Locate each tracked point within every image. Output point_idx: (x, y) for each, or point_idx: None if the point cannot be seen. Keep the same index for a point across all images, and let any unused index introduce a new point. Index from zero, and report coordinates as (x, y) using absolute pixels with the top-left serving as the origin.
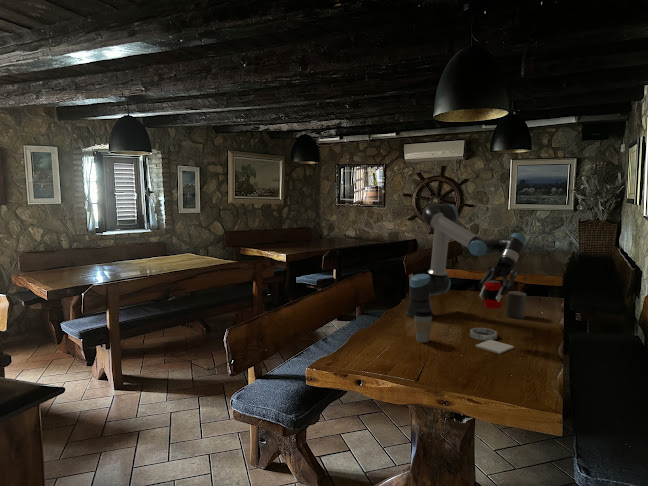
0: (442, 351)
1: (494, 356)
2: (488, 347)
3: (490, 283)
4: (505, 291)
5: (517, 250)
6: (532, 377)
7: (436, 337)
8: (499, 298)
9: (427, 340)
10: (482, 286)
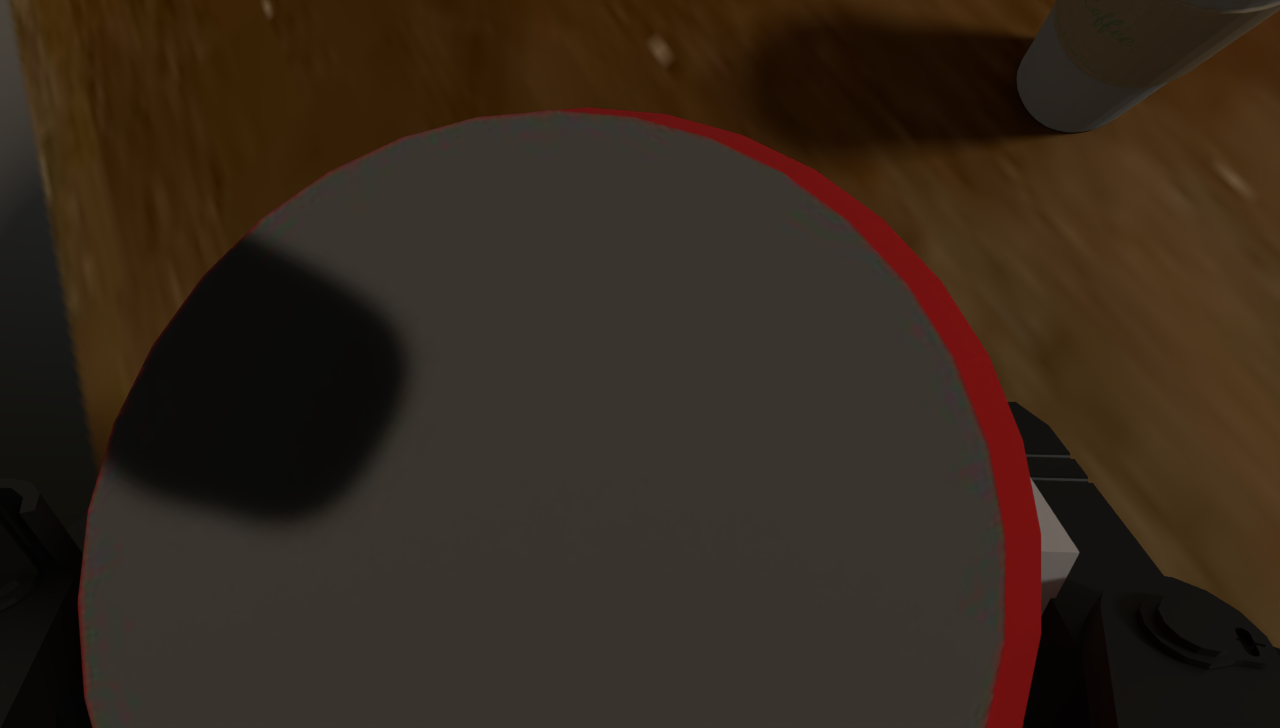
0: (796, 14)
1: None
2: None
3: (521, 117)
4: None
5: None
6: (160, 67)
7: (1059, 236)
8: None
9: (1022, 74)
10: (1115, 530)
